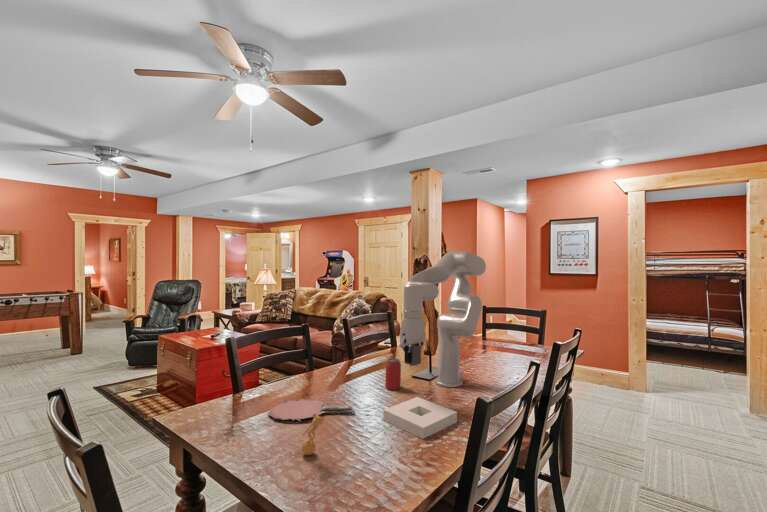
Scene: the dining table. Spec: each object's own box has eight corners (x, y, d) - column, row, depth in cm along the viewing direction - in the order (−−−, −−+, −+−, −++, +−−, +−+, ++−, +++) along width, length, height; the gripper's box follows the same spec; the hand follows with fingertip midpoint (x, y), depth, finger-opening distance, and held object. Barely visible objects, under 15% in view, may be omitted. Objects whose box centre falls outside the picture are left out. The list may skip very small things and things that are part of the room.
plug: (412, 363, 147) (412, 343, 147) (420, 365, 144) (420, 345, 144) (404, 365, 144) (404, 345, 144) (413, 368, 141) (413, 347, 141)
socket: (417, 406, 139) (417, 396, 139) (456, 422, 126) (457, 412, 126) (383, 419, 126) (383, 409, 126) (423, 439, 113) (423, 427, 113)
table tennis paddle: (287, 401, 142) (287, 393, 142) (356, 411, 133) (357, 403, 134) (259, 419, 125) (260, 411, 125) (337, 432, 117) (337, 423, 117)
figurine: (312, 445, 108) (313, 405, 108) (328, 451, 105) (329, 409, 105) (293, 459, 100) (294, 415, 100) (310, 465, 97) (311, 420, 98)
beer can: (399, 391, 154) (399, 362, 154) (383, 389, 155) (384, 361, 155) (401, 385, 160) (402, 358, 161) (386, 384, 162) (387, 357, 162)
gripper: (419, 311, 153) (419, 354, 153) (391, 316, 141) (390, 363, 141) (433, 313, 147) (433, 358, 147) (405, 318, 135) (405, 367, 136)
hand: (412, 360), depth 144 cm, fingers closed on plug, 4 cm apart
